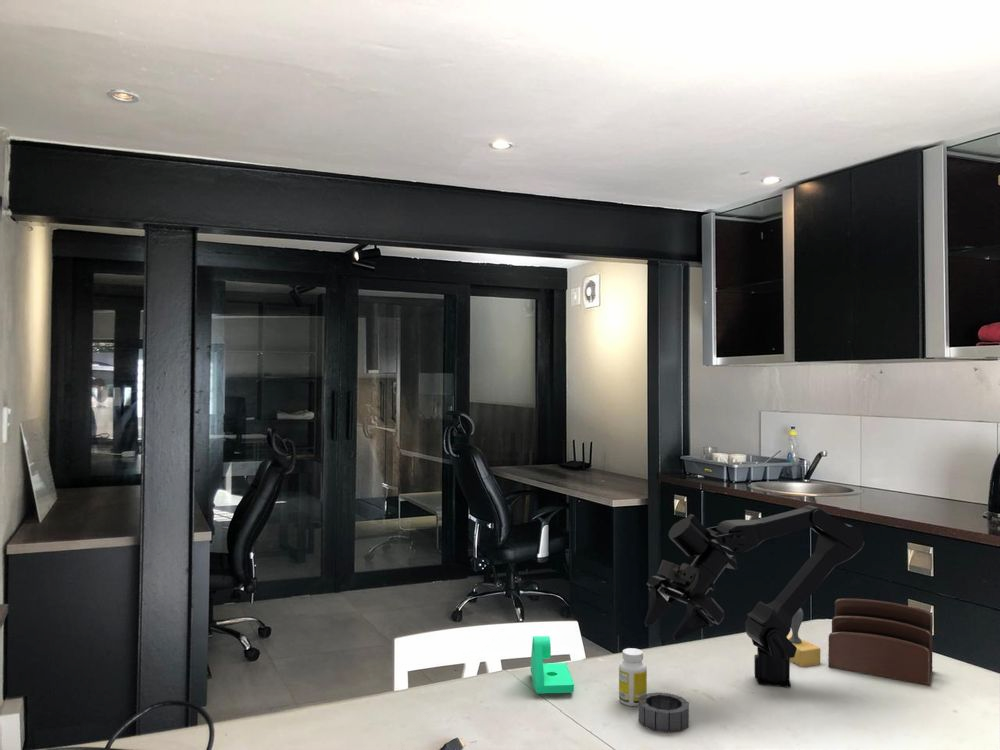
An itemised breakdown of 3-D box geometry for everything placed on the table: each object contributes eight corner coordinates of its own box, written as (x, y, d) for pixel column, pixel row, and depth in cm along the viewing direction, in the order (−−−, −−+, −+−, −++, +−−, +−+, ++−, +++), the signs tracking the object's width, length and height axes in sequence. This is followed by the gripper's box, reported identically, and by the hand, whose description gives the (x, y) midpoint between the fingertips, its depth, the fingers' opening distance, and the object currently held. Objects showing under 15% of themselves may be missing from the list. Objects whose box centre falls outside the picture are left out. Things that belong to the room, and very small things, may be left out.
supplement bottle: (648, 698, 155) (648, 648, 155) (644, 708, 150) (644, 657, 150) (621, 694, 157) (621, 645, 157) (616, 704, 151) (616, 654, 151)
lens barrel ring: (689, 714, 147) (689, 695, 147) (688, 735, 139) (688, 715, 139) (641, 708, 150) (641, 690, 150) (636, 728, 141) (637, 709, 141)
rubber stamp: (770, 652, 181) (770, 600, 181) (790, 649, 183) (791, 598, 183) (800, 667, 172) (800, 612, 172) (821, 664, 174) (821, 610, 174)
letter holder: (834, 654, 180) (835, 593, 180) (932, 671, 170) (933, 607, 170) (827, 668, 172) (828, 604, 172) (930, 687, 161) (930, 619, 161)
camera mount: (574, 698, 155) (574, 646, 155) (536, 698, 154) (536, 647, 155) (566, 675, 167) (566, 627, 167) (530, 675, 166) (530, 627, 167)
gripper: (654, 537, 167) (610, 594, 162) (712, 555, 150) (665, 620, 145) (683, 570, 170) (641, 627, 165) (744, 592, 153) (698, 656, 148)
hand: (659, 631), depth 156 cm, fingers open, 9 cm apart
